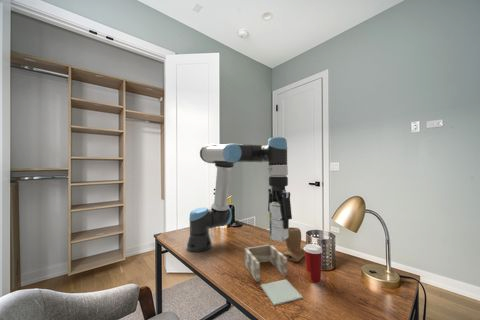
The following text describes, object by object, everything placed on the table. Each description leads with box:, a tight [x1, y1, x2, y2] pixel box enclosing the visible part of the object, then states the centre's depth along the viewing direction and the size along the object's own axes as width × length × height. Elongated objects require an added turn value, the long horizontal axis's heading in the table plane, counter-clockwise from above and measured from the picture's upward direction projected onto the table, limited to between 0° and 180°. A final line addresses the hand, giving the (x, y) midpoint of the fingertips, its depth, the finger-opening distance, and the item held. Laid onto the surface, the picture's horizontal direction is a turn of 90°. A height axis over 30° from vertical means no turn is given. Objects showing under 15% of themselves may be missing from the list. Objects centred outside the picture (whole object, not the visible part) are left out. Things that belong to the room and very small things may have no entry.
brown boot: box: [282, 226, 305, 262], centre depth 109 cm, size 15×12×15 cm
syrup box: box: [269, 201, 290, 243], centre depth 79 cm, size 6×6×14 cm
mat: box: [260, 279, 303, 306], centre depth 78 cm, size 12×12×1 cm
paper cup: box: [303, 243, 323, 284], centre depth 87 cm, size 8×8×14 cm
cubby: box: [243, 244, 288, 283], centre depth 95 cm, size 16×15×8 cm
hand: (279, 233), depth 79 cm, fingers closed on syrup box, 7 cm apart
